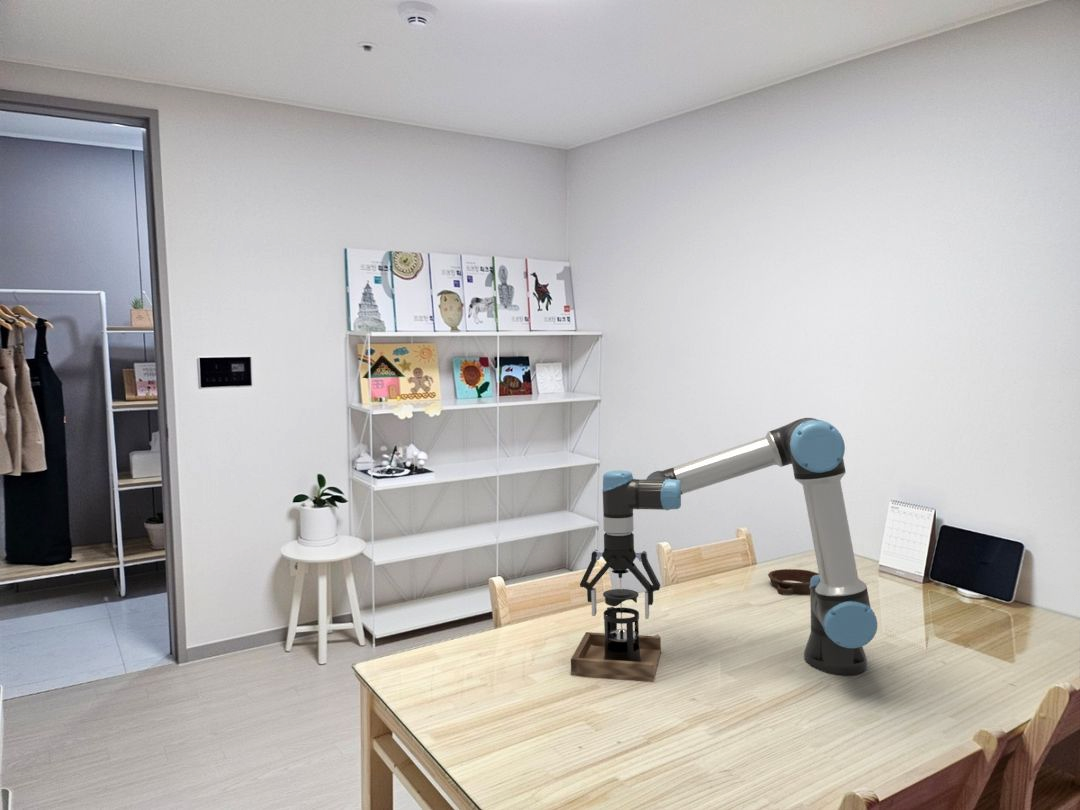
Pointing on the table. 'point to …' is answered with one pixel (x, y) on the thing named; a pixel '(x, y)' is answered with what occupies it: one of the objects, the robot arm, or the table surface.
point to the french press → (621, 639)
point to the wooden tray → (593, 664)
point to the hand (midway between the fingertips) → (620, 616)
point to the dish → (791, 575)
